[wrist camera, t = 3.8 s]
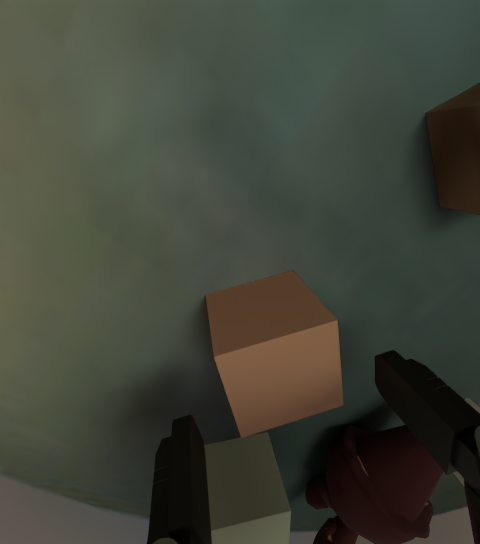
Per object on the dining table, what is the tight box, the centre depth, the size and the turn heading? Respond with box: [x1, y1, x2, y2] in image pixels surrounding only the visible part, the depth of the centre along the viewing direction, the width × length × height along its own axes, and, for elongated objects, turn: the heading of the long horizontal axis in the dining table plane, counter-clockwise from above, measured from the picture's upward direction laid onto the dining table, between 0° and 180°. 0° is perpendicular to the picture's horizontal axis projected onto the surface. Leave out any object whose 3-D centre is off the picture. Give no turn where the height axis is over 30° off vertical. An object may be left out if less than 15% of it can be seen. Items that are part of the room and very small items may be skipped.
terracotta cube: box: [206, 271, 343, 438], centre depth 14 cm, size 5×5×5 cm
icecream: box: [305, 425, 443, 544], centre depth 19 cm, size 7×7×15 cm
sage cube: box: [204, 432, 291, 544], centre depth 19 cm, size 5×5×5 cm
